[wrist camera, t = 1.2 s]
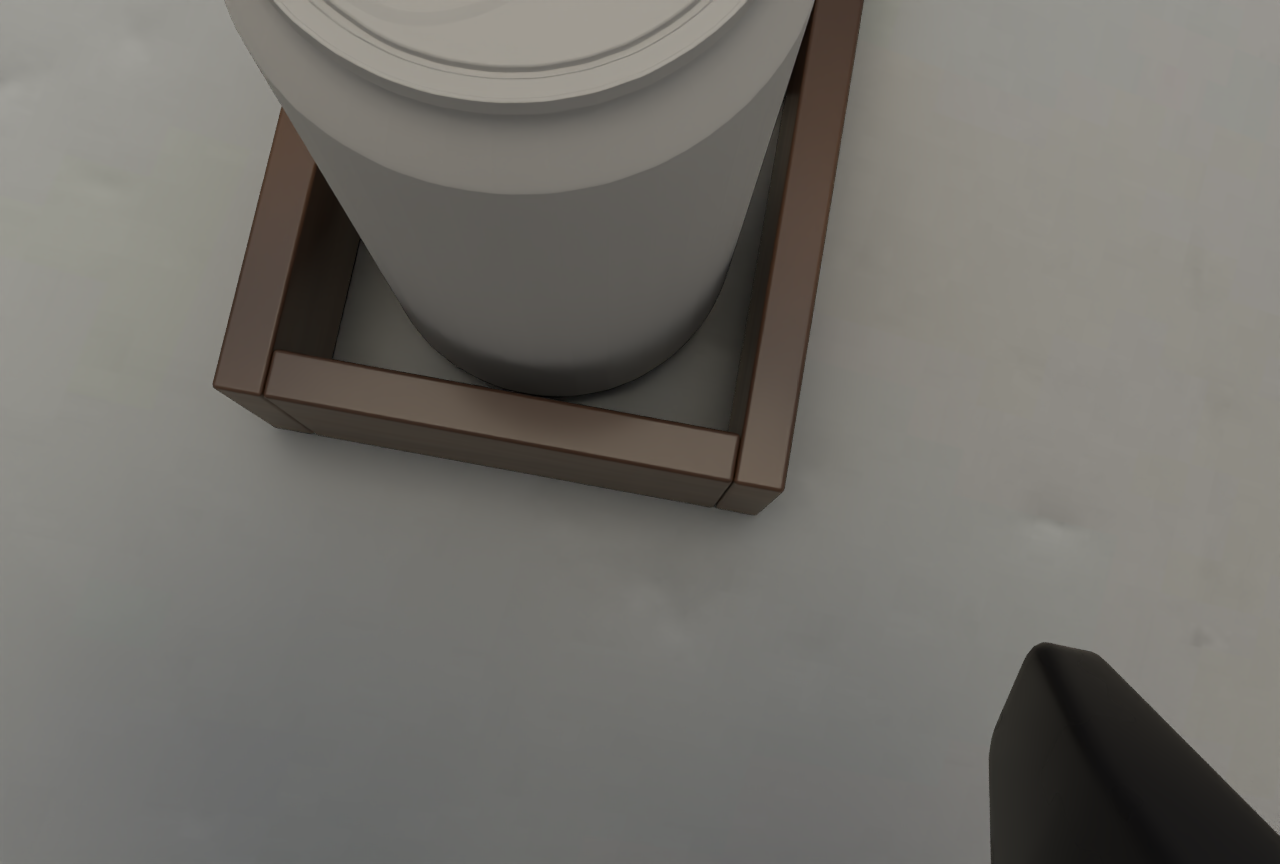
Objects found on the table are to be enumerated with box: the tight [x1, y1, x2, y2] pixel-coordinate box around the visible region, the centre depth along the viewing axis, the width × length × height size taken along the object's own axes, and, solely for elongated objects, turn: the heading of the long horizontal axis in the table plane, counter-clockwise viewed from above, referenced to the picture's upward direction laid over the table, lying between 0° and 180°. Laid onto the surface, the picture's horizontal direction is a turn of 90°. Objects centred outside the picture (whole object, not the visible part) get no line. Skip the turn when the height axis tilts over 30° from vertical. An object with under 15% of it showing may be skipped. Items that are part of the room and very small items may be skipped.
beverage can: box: [224, 0, 815, 396], centre depth 17 cm, size 6×6×12 cm
